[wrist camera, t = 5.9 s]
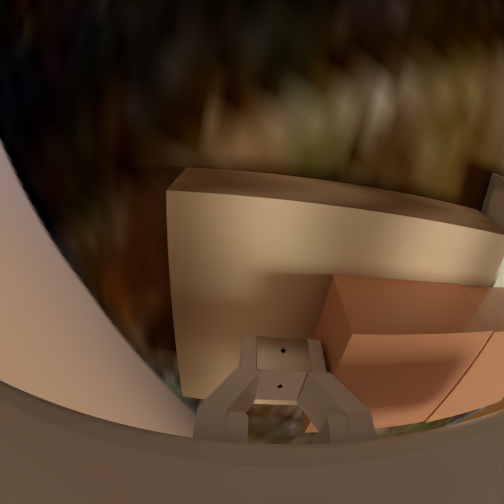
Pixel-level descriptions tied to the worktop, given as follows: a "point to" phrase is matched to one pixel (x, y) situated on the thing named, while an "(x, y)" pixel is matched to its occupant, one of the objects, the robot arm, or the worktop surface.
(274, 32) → the worktop surface
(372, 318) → the tile
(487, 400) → the tile
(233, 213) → the bench
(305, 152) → the worktop surface
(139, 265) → the worktop surface
